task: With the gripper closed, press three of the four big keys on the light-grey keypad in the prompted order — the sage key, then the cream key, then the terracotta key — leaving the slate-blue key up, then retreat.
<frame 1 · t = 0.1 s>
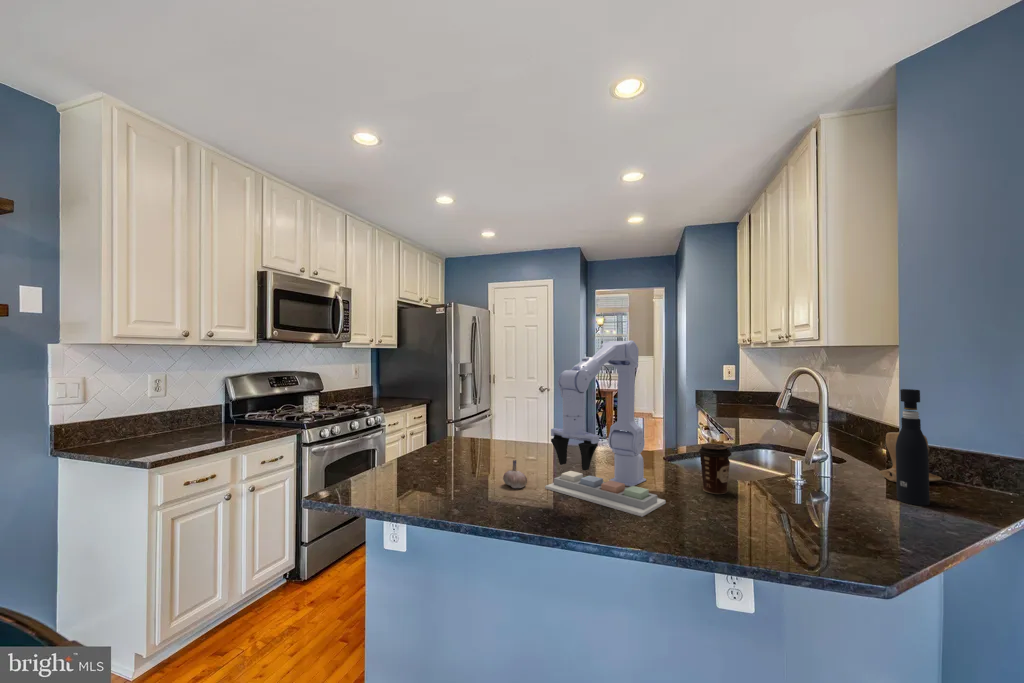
hand: (574, 466, 112), 10 cm above the countertop, fingers open, 7 cm apart
wooden stand: (906, 480, 133), on the countertop
garlic bulb: (515, 487, 128), on the countertop
terracotta key: (613, 487, 117), point 3 cm above the countertop, slide at 0.0 cm
sage key: (636, 493, 112), point 3 cm above the countertop, slide at 0.0 cm
black water bottle: (913, 502, 114), on the countertop
slate key: (591, 482, 122), point 3 cm above the countertop, slide at 0.0 cm
coffee cup: (715, 491, 123), on the countertop
cream key: (572, 477, 127), point 3 cm above the countertop, slide at 0.0 cm
keypad: (602, 495, 120), on the countertop
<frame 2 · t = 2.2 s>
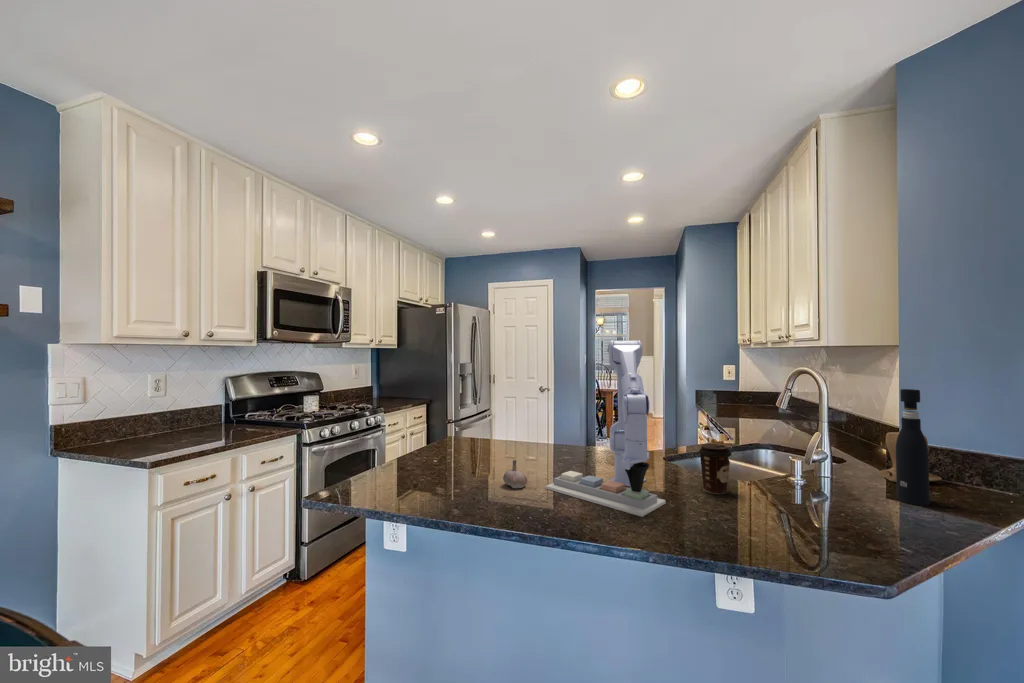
hand: (636, 491, 112), 4 cm above the countertop, fingers closed, pressing on sage key
sage key: (636, 494, 112), point 3 cm above the countertop, slide at 0.3 cm, touching gripper
everything else where it was.
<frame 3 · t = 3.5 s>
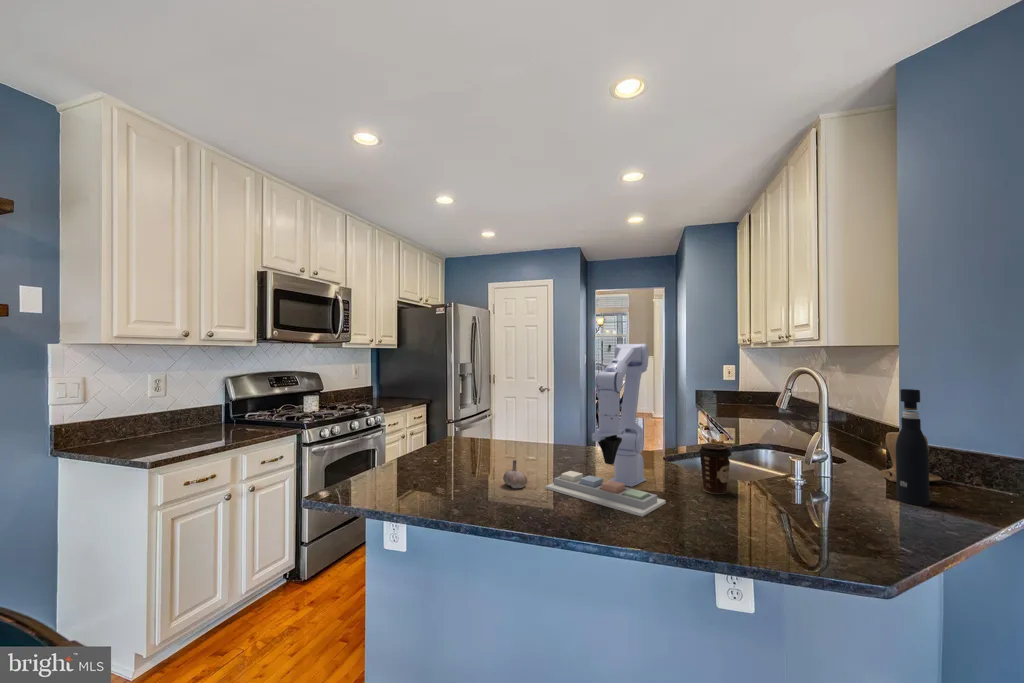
hand: (609, 463, 118), 9 cm above the countertop, fingers closed
sage key: (636, 496, 112), point 2 cm above the countertop, slide at 0.8 cm
everything else where it was.
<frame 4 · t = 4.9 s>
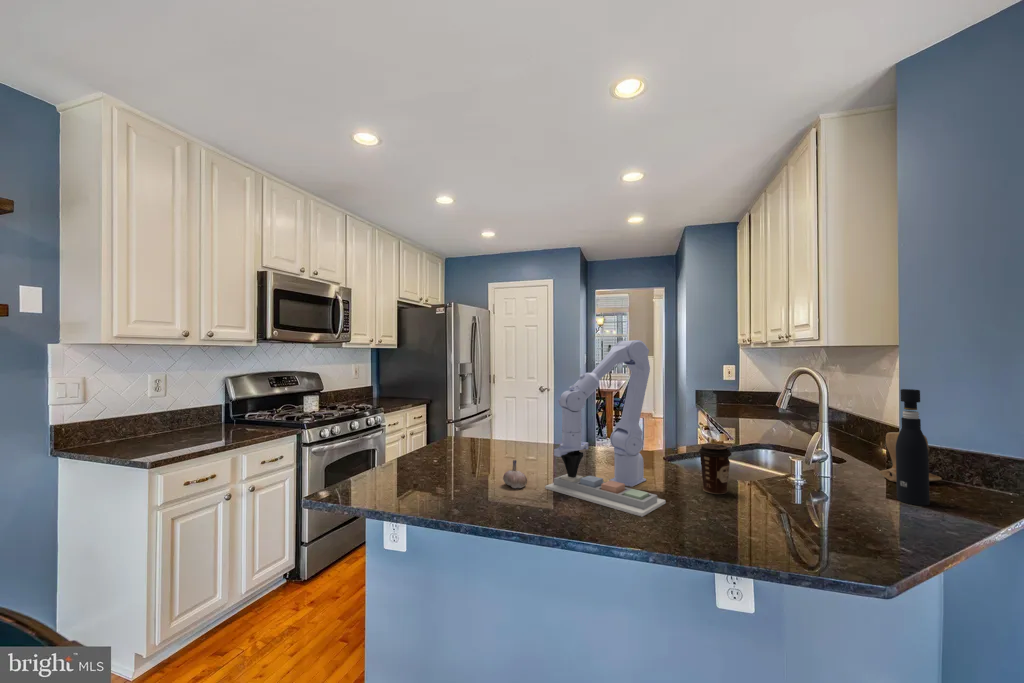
hand: (571, 476, 127), 3 cm above the countertop, fingers closed, pressing on cream key
cream key: (572, 479, 127), point 2 cm above the countertop, slide at 0.8 cm, touching gripper
everything else where it was.
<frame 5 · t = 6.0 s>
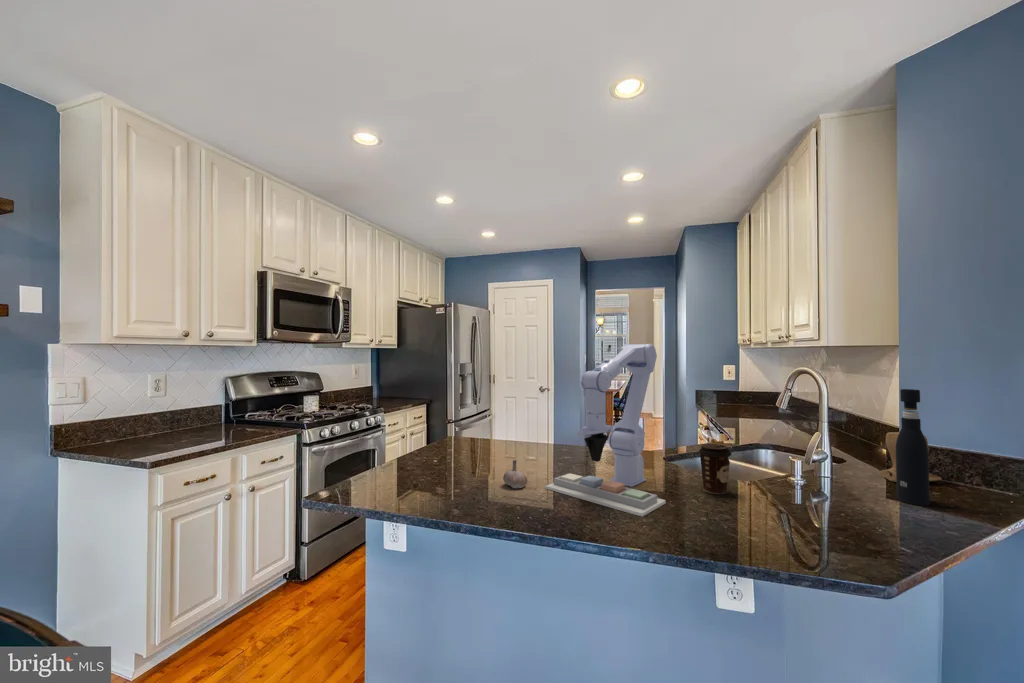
hand: (595, 460, 121), 9 cm above the countertop, fingers closed
cream key: (572, 479, 127), point 2 cm above the countertop, slide at 0.8 cm
everything else where it was.
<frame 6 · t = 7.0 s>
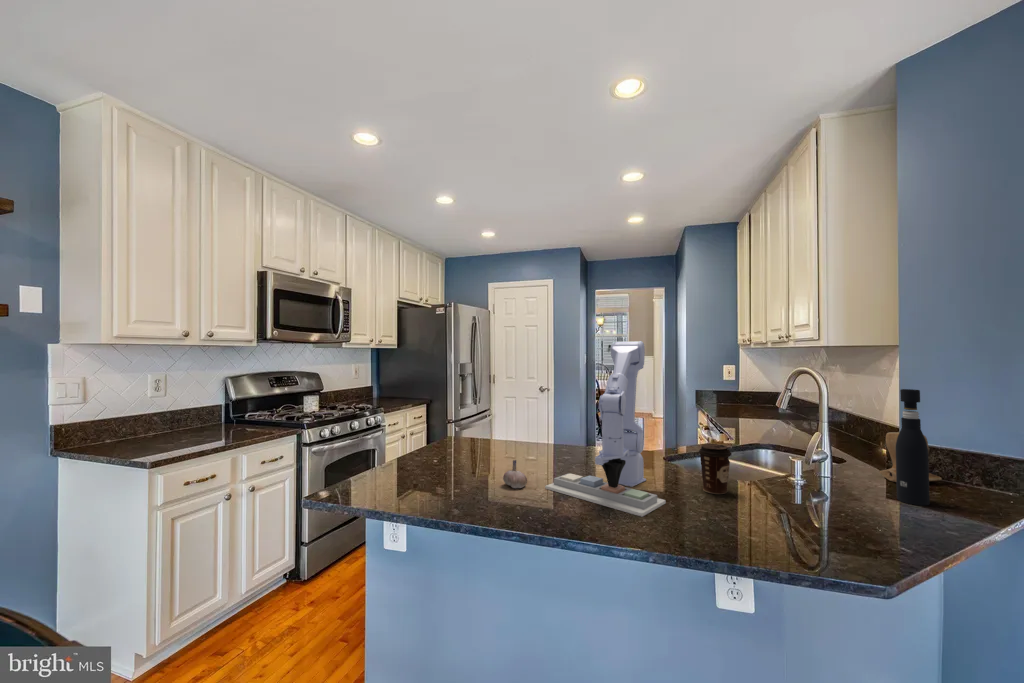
hand: (613, 486, 117), 3 cm above the countertop, fingers closed, pressing on terracotta key
terracotta key: (613, 489, 117), point 2 cm above the countertop, slide at 0.7 cm, touching gripper
everything else where it was.
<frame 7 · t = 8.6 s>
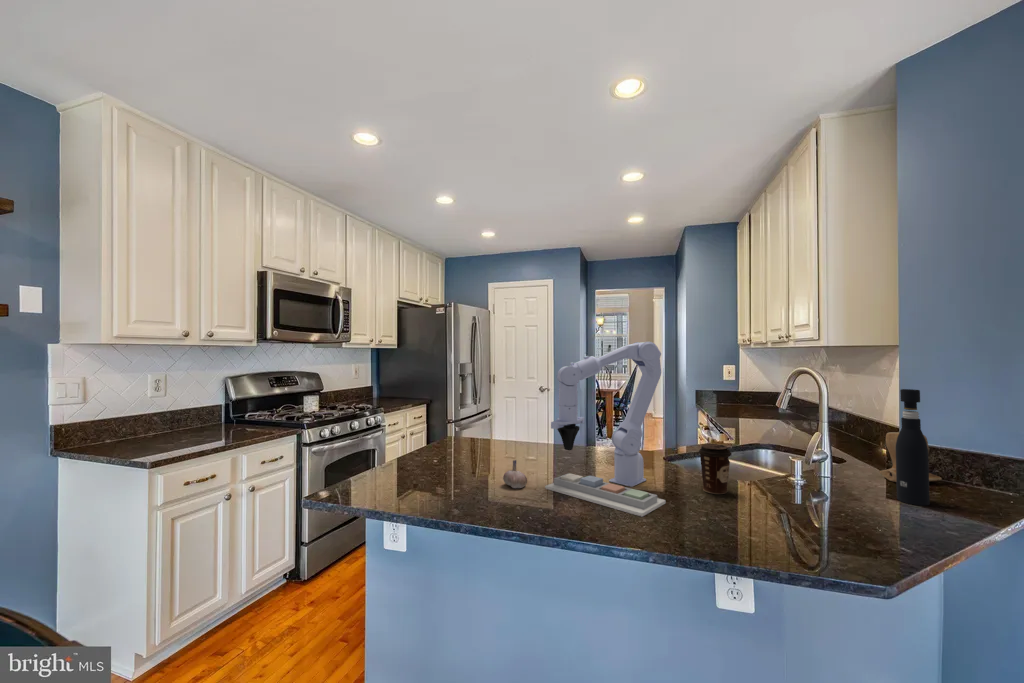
hand: (568, 449, 130), 10 cm above the countertop, fingers closed
terracotta key: (613, 490, 117), point 2 cm above the countertop, slide at 0.8 cm
everything else where it was.
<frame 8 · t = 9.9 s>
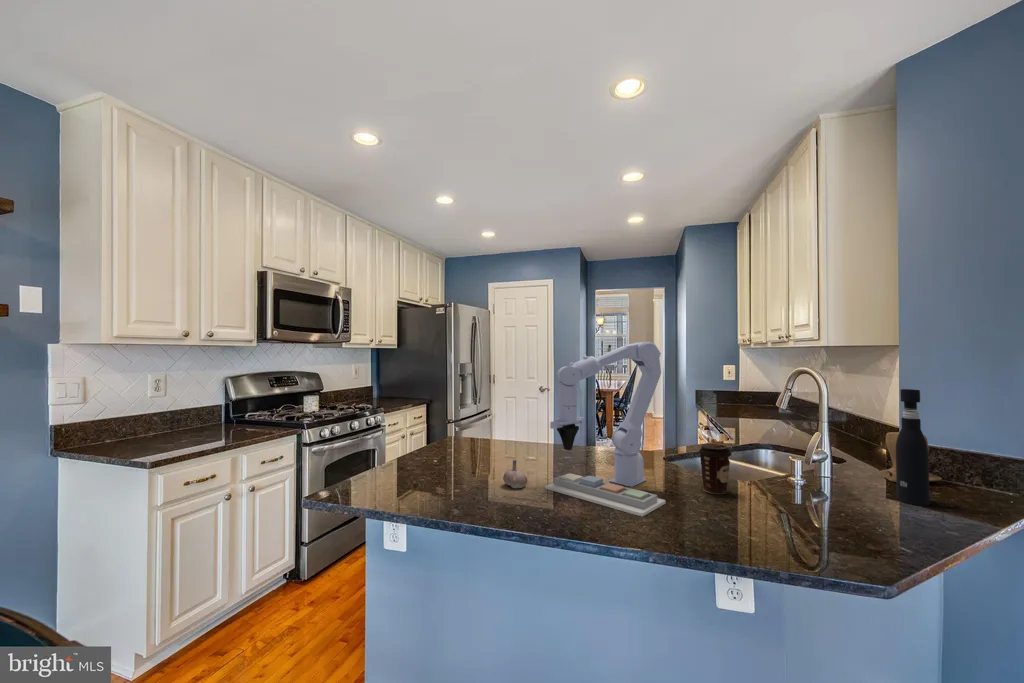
hand: (567, 449, 131), 10 cm above the countertop, fingers closed
nothing on the countertop moved.
at the end: sage key slide at 0.8 cm; cream key slide at 0.8 cm; terracotta key slide at 0.8 cm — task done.
